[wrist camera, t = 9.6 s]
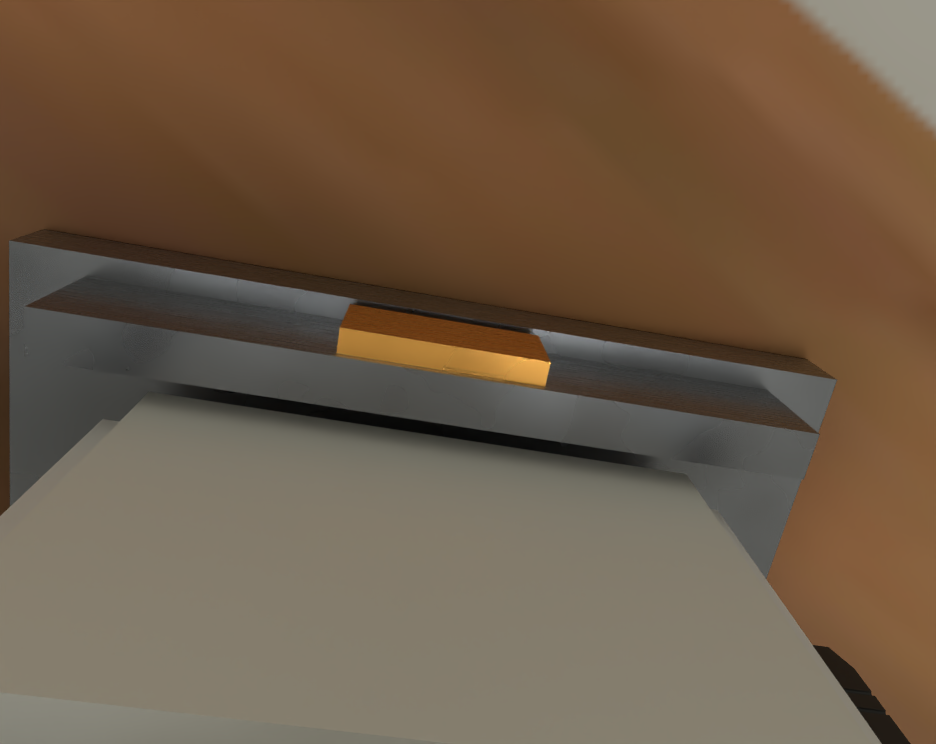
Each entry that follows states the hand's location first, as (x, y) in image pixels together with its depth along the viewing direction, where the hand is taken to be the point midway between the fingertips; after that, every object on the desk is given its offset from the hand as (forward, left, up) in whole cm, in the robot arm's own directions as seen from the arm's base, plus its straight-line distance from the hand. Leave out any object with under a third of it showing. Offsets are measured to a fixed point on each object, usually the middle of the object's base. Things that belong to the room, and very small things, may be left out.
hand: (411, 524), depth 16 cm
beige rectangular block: (0, 0, 0) cm, 0 cm away
